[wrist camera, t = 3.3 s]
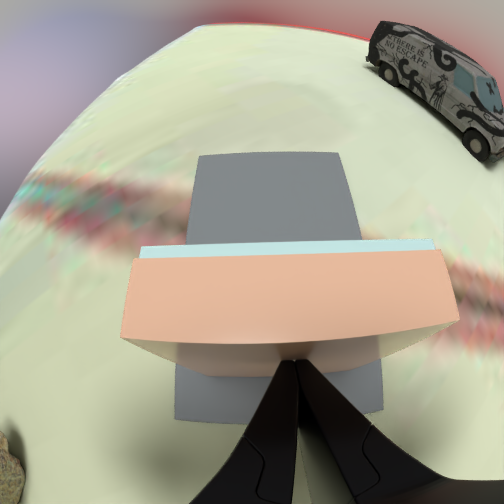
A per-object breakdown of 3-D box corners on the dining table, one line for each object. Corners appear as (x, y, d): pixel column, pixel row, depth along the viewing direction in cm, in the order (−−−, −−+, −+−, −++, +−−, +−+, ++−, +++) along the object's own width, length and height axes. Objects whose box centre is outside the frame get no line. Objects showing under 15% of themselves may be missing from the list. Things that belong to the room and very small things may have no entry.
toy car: (487, 174, 21) (524, 114, 13) (360, 67, 32) (369, 14, 23) (508, 159, 23) (536, 112, 14) (400, 67, 34) (410, 22, 25)
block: (350, 370, 14) (459, 319, 5) (207, 376, 14) (120, 337, 5) (346, 330, 15) (436, 236, 6) (209, 335, 15) (137, 244, 6)
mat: (381, 409, 13) (383, 409, 12) (176, 418, 13) (174, 419, 13) (337, 155, 22) (338, 152, 22) (199, 158, 22) (198, 155, 22)
